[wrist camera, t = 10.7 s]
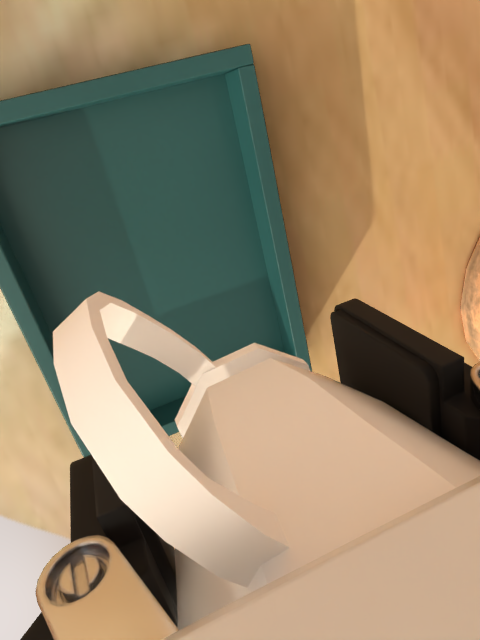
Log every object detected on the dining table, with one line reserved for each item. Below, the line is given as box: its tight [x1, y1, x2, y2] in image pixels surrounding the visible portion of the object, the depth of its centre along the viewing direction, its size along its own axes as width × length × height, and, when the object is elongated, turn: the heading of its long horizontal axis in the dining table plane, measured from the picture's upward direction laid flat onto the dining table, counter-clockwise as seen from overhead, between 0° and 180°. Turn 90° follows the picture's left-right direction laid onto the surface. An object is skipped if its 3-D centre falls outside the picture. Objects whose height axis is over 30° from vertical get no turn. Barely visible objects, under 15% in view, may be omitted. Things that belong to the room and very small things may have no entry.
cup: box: [53, 292, 480, 630], centre depth 9 cm, size 7×10×8 cm
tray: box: [0, 44, 312, 458], centre depth 23 cm, size 18×14×3 cm
